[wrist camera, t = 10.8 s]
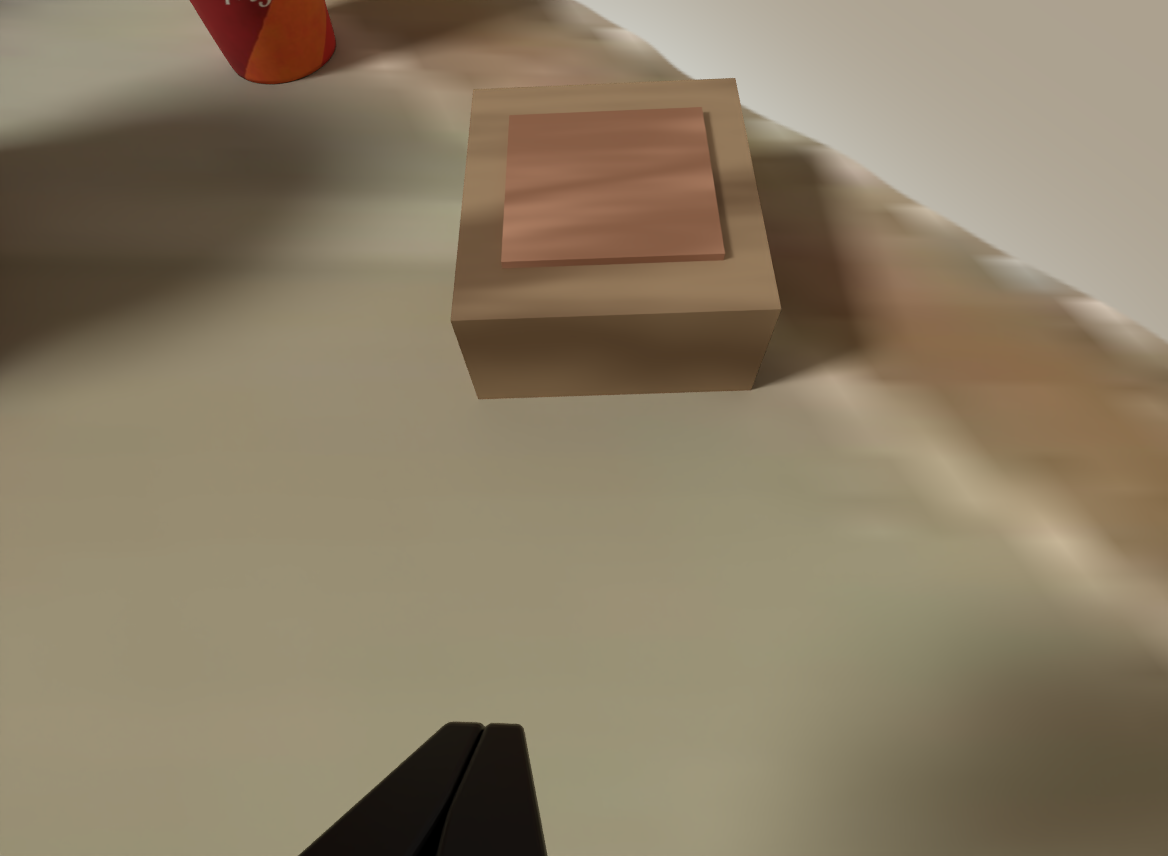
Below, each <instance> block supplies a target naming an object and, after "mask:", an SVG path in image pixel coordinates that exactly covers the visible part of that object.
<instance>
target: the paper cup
mask: <svg viewBox="0 0 1168 856" xmlns="http://www.w3.org/2000/svg"><path fill="white" fill-rule="evenodd" d="M190 2H191V3H192V5H193V6H194V8H195V10H196V11H197V13H198V15H199V16H200V18H201V19H202V21H203V23H204V24H205V26H206V28H207V29H208V31H209V32H210V34H211V36H212V37H213V39H214V40H215V42H216V43H217V45H218V47H219V48H220V50H221V51H222V53H223V54H224V56H225V57H226V59H227V60H228V62H229V63H230V65H231V66H232V68H233V69H234V70H235V72H236V73H237V74H238V75H239V76H241V77H242V78H244V79H246V80H248V81H251V82H255V83H261V84H278V83H285V82H290V81H294V80H297V79H300V78H303V77H305V76H308V75H310V74H312V73H313V72H315V71H317V70H318V69H320V68H321V67H322V66H323V65H325V64H326V63H327V62H328V60H329V59H330V58H331V57H332V55H333V53H334V51H335V47H336V41H335V35H334V32H333V28H332V24H331V21H330V17H329V14H328V10H327V7H326V4H325V0H190Z"/></svg>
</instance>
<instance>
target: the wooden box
mask: <svg viewBox="0 0 1168 856" xmlns="http://www.w3.org/2000/svg"><path fill="white" fill-rule="evenodd" d="M780 312H781V305H780V300H779V295H778V290H777V285H776V280H775V275H774V270H773V265H772V260H771V255H770V250H769V245H768V240H767V235H766V230H765V225H764V220H763V215H762V210H761V205H760V200H759V195H758V190H757V185H756V180H755V175H754V170H753V165H752V160H751V155H750V150H749V145H748V140H747V135H746V130H745V125H744V120H743V115H742V110H741V105H740V100H739V95H738V90H737V85H736V80H735V78H726V79H703V80H680V81H657V82H633V83H610V84H587V85H564V86H541V87H518V88H495V89H473V98H472V108H471V118H470V128H469V139H468V149H467V159H466V169H465V179H464V190H463V200H462V210H461V220H460V231H459V241H458V251H457V261H456V271H455V282H454V292H453V302H452V312H451V323H452V326H453V329H454V332H455V335H456V337H457V340H458V343H459V346H460V349H461V351H462V354H463V357H464V360H465V363H466V366H467V368H468V371H469V374H470V377H471V380H472V383H473V385H474V388H475V391H476V394H477V397H478V399H499V398H529V397H559V396H589V395H620V394H650V393H680V392H710V391H741V390H751V389H752V386H753V384H754V381H755V378H756V376H757V373H758V370H759V368H760V365H761V362H762V360H763V357H764V354H765V352H766V349H767V346H768V344H769V341H770V338H771V336H772V333H773V330H774V328H775V325H776V322H777V320H778V317H779V314H780Z"/></svg>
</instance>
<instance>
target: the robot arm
mask: <svg viewBox="0 0 1168 856" xmlns="http://www.w3.org/2000/svg"><path fill="white" fill-rule="evenodd" d="M298 856H547V851H546V845H545V840H544V834H543V829H542V824H541V818H540V813H539V807H538V802H537V797H536V791H535V786H534V781H533V775H532V770H531V764H530V759H529V754H528V748H527V743H526V737H525V732H524V728H523V727H522V726H521V725H520V724H505V723H490V724H489V725H487V726H486V727H485V726H484V725H483V724H481V723H478V722H449V723H447V724H445V725H444V726H443V727H442V728H440V729H439V730H438V731H437V732H436V733H435V734H434V735H433V736H431V737H430V738H429V739H428V740H427V741H426V742H425V743H424V744H423V745H421V746H420V747H419V748H418V749H417V750H416V751H415V752H414V753H412V754H411V755H410V756H409V757H408V758H407V759H406V760H405V761H404V762H402V763H401V764H400V765H399V766H398V767H397V768H396V769H395V770H393V771H392V772H391V773H390V774H389V775H388V776H387V777H386V778H385V779H383V780H382V781H381V782H380V783H379V784H378V785H377V786H376V787H374V788H373V789H372V790H371V791H370V792H369V793H368V794H367V795H366V796H364V797H363V798H362V799H361V800H360V801H359V802H358V803H357V804H355V805H354V806H353V807H352V808H351V809H350V810H349V811H348V812H347V813H345V814H344V815H343V816H342V817H341V818H340V819H339V820H338V821H336V822H335V823H334V824H333V825H332V826H331V827H330V828H329V829H328V830H326V831H325V832H324V833H323V834H322V835H321V836H320V837H319V838H317V839H316V840H315V841H314V842H313V843H312V844H311V845H310V846H309V847H307V848H306V849H305V850H304V851H303V852H302V853H301V854H300V855H298Z"/></svg>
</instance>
